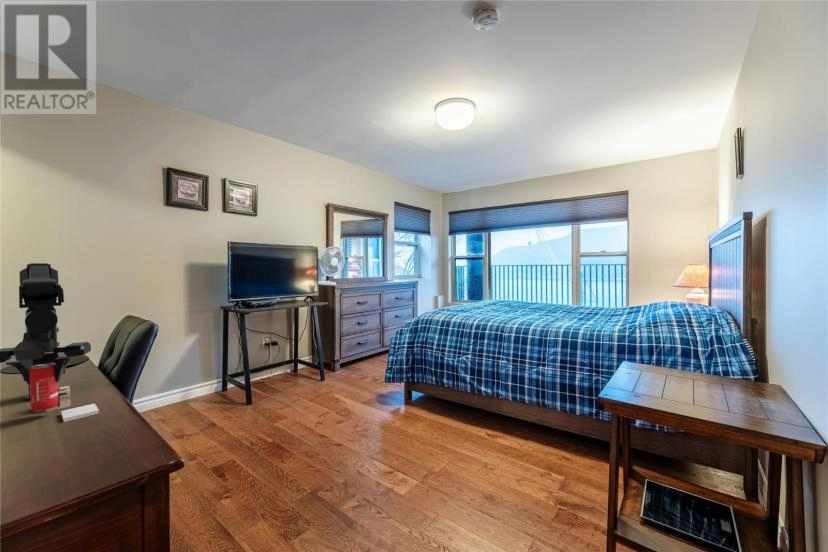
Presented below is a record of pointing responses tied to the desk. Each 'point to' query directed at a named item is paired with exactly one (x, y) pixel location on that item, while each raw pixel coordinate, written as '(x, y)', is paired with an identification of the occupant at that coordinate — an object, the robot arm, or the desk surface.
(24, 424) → the desk surface
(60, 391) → the letter block
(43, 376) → the beverage can
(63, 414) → the white mat
